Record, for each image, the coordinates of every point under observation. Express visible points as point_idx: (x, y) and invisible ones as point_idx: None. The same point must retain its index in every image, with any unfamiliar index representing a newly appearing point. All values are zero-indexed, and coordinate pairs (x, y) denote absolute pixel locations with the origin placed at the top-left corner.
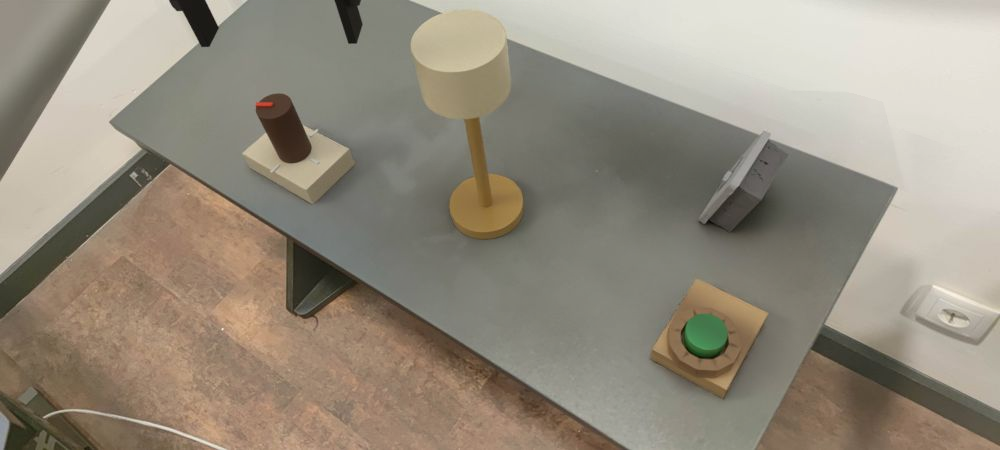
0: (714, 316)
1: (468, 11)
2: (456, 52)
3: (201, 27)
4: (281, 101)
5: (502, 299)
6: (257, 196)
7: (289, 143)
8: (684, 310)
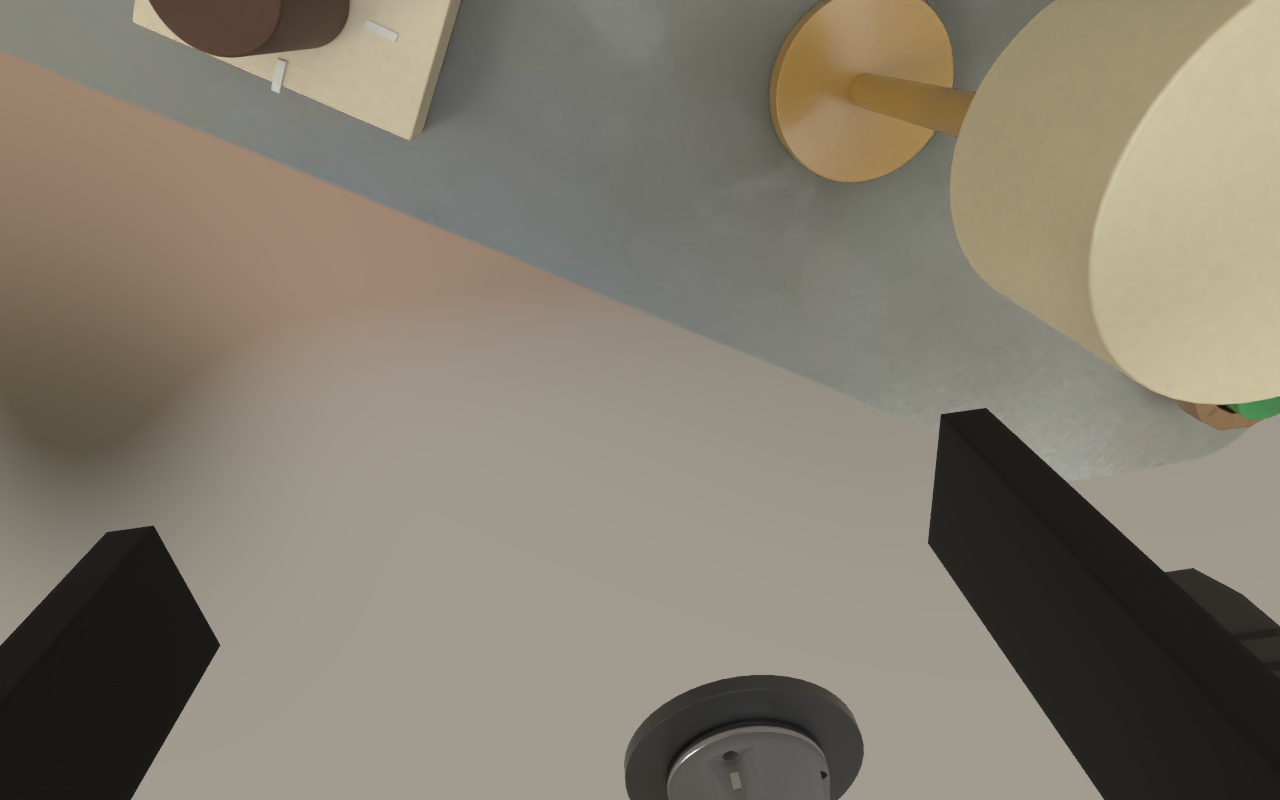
0: None
1: None
2: None
3: (157, 726)
4: None
5: (892, 307)
6: (257, 123)
7: (307, 42)
8: None
